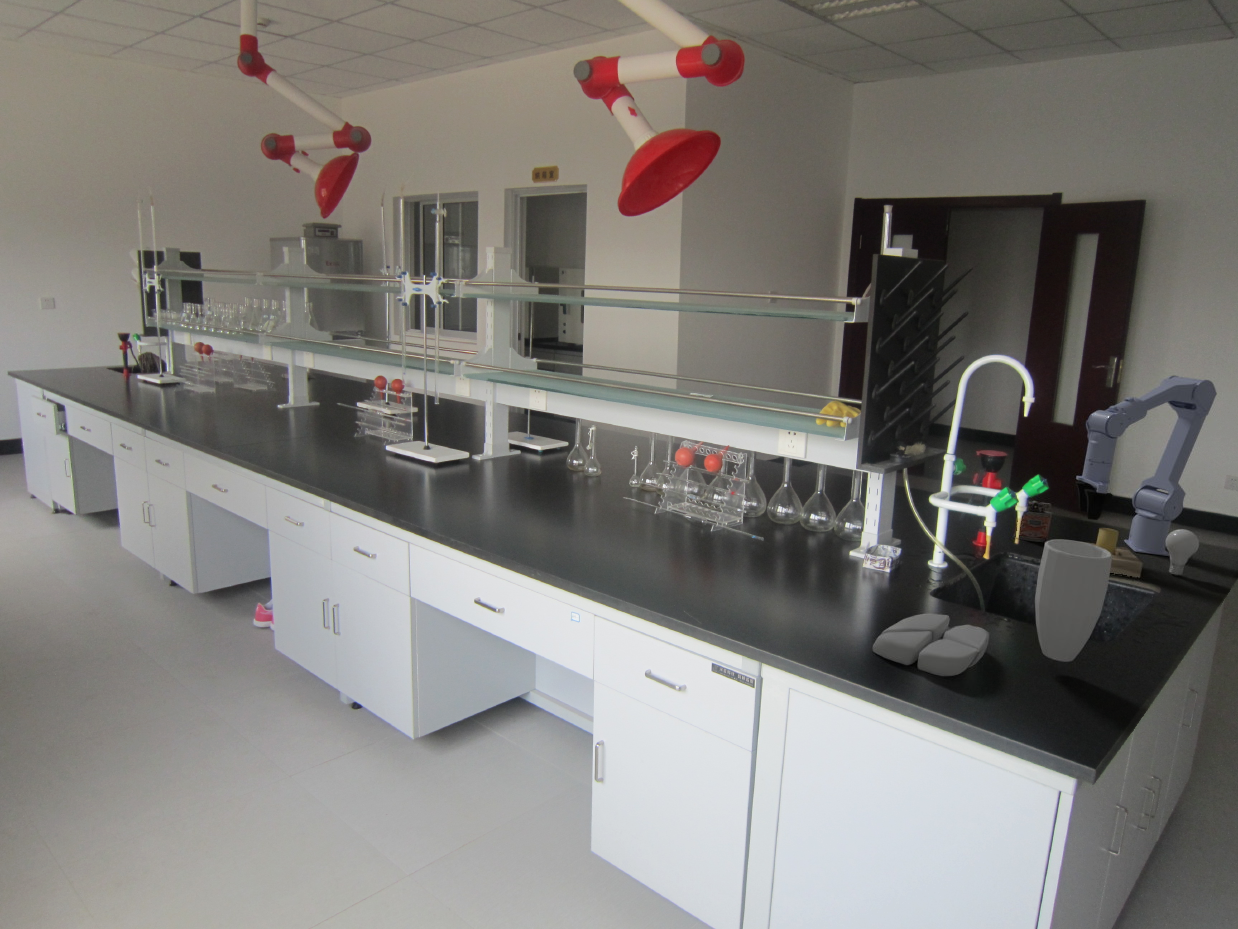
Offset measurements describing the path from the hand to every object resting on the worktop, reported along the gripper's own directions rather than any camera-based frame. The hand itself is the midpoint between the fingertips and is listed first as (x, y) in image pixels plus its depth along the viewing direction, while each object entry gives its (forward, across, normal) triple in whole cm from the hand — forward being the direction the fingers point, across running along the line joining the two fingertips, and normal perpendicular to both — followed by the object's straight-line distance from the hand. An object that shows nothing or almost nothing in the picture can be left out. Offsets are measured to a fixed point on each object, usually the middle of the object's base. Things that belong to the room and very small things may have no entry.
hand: (1088, 515), depth 201 cm
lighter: (+10, -8, -10) cm, 16 cm away
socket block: (+10, +8, +3) cm, 13 cm away
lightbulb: (+10, +8, +18) cm, 22 cm away
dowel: (+10, +7, +3) cm, 12 cm away
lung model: (+11, +74, -39) cm, 84 cm away
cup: (+10, +76, -21) cm, 79 cm away
